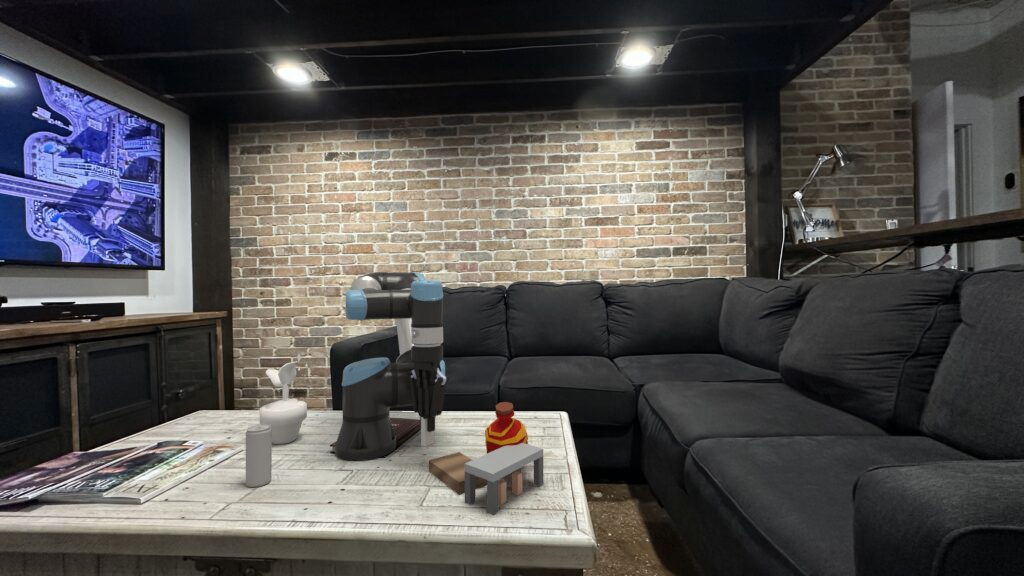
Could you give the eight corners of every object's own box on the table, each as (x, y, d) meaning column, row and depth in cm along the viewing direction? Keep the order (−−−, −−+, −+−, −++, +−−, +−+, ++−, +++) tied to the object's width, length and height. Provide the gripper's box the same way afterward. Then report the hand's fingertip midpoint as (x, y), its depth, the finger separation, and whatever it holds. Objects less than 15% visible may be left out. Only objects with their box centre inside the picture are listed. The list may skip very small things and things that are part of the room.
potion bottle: (525, 482, 91) (522, 421, 87) (480, 476, 93) (475, 416, 90) (534, 452, 101) (531, 396, 97) (493, 447, 103) (489, 393, 100)
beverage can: (244, 490, 87) (244, 432, 87) (246, 481, 91) (246, 426, 91) (271, 485, 89) (271, 428, 89) (272, 476, 93) (272, 422, 93)
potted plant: (315, 438, 118) (315, 350, 118) (273, 451, 108) (273, 355, 108) (290, 430, 124) (290, 347, 125) (249, 442, 115) (249, 351, 115)
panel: (428, 473, 95) (428, 460, 95) (459, 464, 100) (459, 452, 100) (459, 497, 84) (459, 482, 84) (491, 485, 89) (491, 471, 89)
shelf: (464, 502, 81) (464, 463, 81) (516, 474, 93) (516, 440, 94) (493, 515, 76) (492, 474, 76) (543, 484, 89) (543, 448, 89)
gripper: (397, 344, 101) (397, 442, 100) (432, 348, 92) (433, 455, 92) (422, 341, 107) (422, 434, 106) (457, 345, 98) (458, 445, 98)
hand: (427, 444), depth 99 cm, fingers closed
